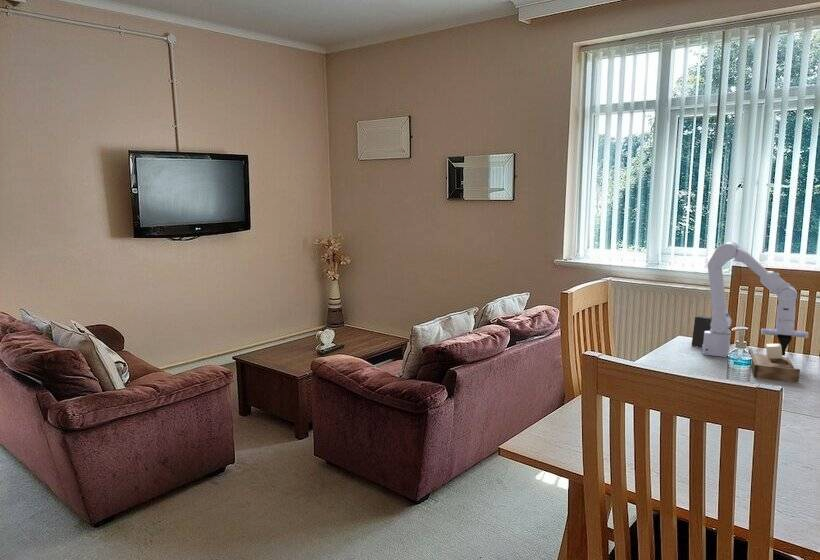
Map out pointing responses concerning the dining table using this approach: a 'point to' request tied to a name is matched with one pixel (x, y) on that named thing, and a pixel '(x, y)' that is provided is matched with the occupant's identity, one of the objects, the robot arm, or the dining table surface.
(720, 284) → the robot arm
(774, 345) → the cream block
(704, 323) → the phone stand
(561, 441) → the dining table surface
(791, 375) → the trap board
